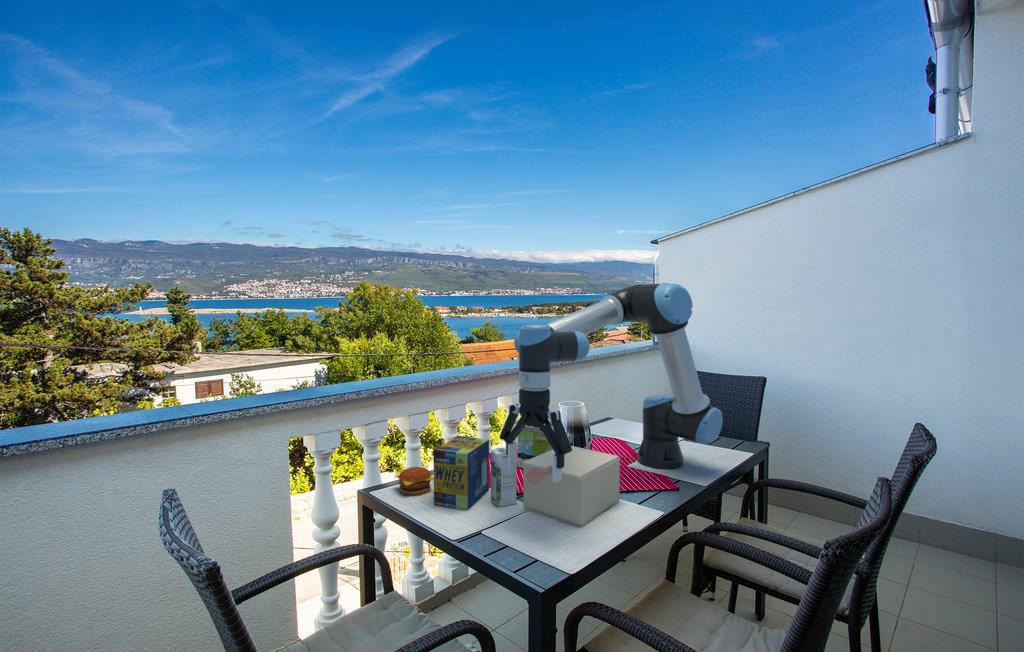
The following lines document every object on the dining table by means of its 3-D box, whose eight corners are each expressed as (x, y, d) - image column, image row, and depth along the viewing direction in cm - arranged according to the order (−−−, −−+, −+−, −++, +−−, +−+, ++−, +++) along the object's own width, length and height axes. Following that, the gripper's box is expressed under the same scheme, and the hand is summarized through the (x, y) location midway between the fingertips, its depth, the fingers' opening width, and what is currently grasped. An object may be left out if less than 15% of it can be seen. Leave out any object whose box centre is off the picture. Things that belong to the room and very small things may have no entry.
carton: (564, 486, 147) (564, 447, 146) (619, 502, 135) (619, 459, 135) (523, 508, 131) (523, 464, 131) (581, 527, 120) (581, 479, 119)
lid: (565, 451, 146) (565, 438, 146) (618, 463, 135) (619, 449, 135) (502, 478, 124) (501, 462, 124) (560, 495, 113) (560, 478, 112)
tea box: (516, 468, 163) (516, 424, 162) (529, 460, 172) (529, 418, 171) (558, 476, 156) (558, 430, 155) (570, 466, 165) (570, 423, 164)
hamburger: (406, 499, 138) (406, 476, 138) (394, 489, 146) (393, 467, 146) (437, 491, 143) (436, 469, 143) (423, 482, 151) (423, 461, 151)
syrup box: (490, 499, 137) (489, 448, 137) (509, 496, 140) (509, 446, 139) (497, 507, 132) (497, 454, 131) (517, 503, 134) (517, 451, 134)
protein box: (433, 505, 134) (432, 449, 133) (458, 485, 148) (457, 435, 147) (467, 511, 130) (467, 453, 129) (490, 490, 144) (490, 438, 144)
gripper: (486, 384, 124) (485, 467, 125) (569, 396, 108) (568, 491, 109) (505, 381, 129) (504, 460, 130) (587, 392, 114) (586, 482, 114)
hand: (533, 474), depth 120 cm, fingers open, 13 cm apart
